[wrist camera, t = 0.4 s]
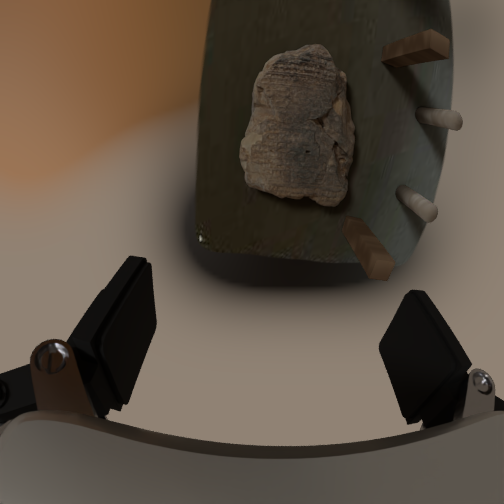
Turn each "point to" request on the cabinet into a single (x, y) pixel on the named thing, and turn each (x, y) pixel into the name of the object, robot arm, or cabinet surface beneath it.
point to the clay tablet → (300, 128)
